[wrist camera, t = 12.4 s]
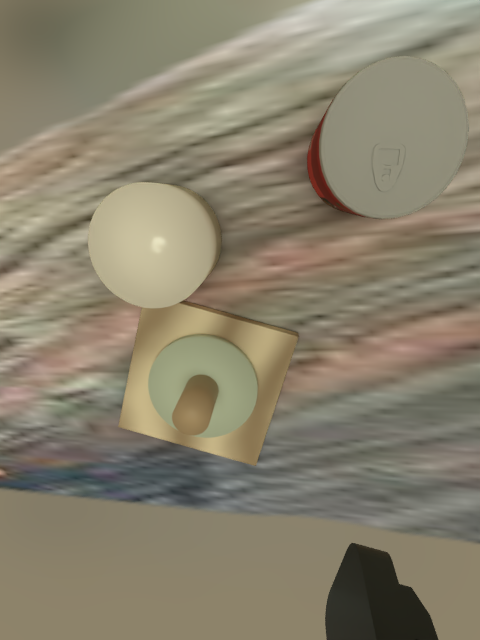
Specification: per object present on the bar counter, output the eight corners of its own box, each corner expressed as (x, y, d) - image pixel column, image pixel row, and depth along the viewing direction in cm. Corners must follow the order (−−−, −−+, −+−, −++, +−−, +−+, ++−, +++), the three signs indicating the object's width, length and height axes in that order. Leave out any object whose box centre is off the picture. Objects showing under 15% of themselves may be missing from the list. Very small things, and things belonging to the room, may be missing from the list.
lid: (270, 351, 36) (269, 380, 30) (242, 443, 39) (235, 486, 33) (162, 320, 36) (140, 344, 30) (142, 415, 39) (119, 453, 33)
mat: (298, 333, 36) (298, 336, 35) (256, 459, 40) (255, 465, 40) (148, 290, 36) (144, 293, 35) (122, 421, 41) (118, 426, 40)
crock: (233, 200, 33) (224, 201, 28) (208, 302, 36) (194, 322, 30) (128, 171, 33) (98, 166, 28) (111, 274, 36) (80, 289, 30)
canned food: (316, 221, 33) (333, 233, 23) (297, 118, 31) (306, 79, 21) (412, 199, 32) (476, 201, 22) (399, 90, 30) (464, 33, 19)
